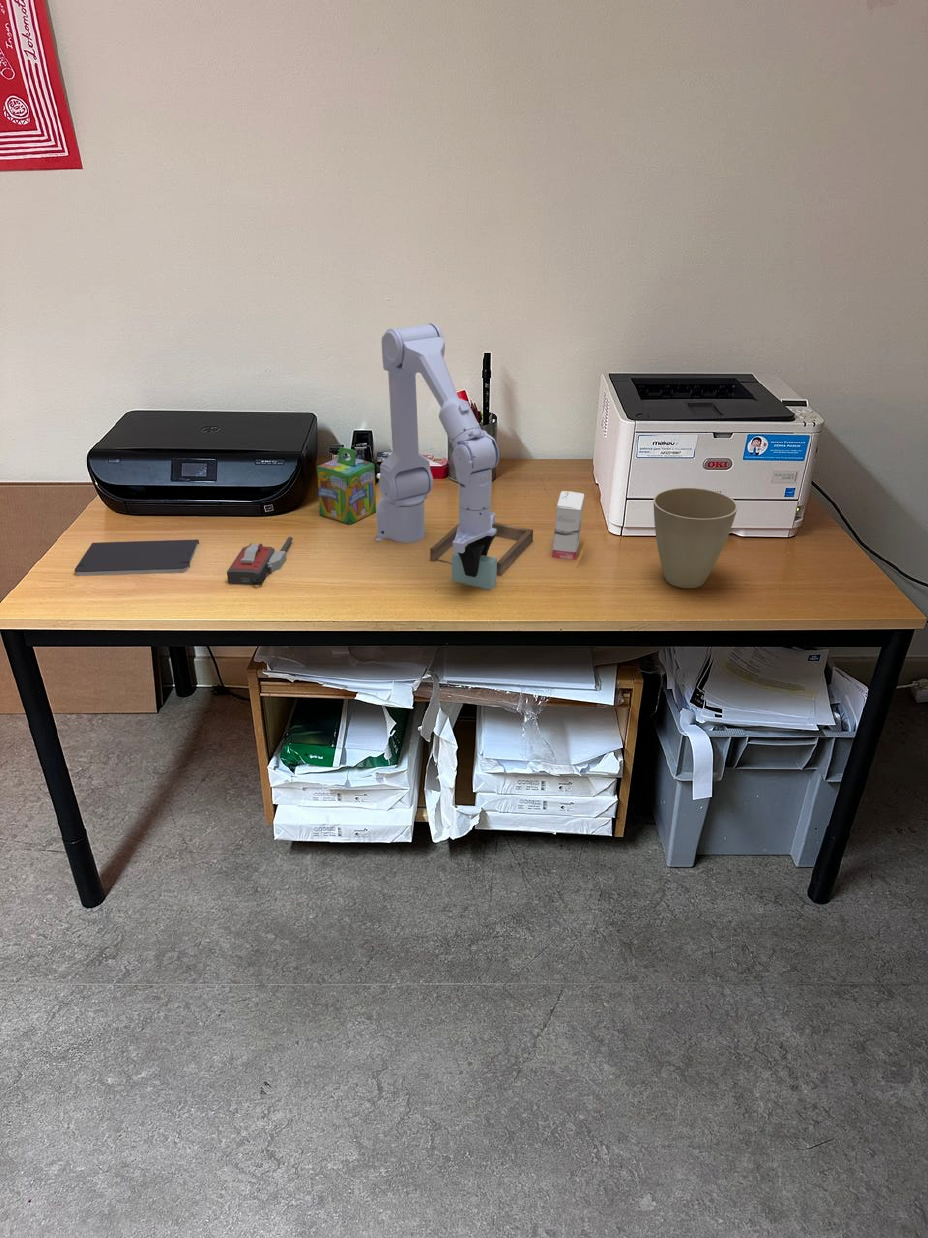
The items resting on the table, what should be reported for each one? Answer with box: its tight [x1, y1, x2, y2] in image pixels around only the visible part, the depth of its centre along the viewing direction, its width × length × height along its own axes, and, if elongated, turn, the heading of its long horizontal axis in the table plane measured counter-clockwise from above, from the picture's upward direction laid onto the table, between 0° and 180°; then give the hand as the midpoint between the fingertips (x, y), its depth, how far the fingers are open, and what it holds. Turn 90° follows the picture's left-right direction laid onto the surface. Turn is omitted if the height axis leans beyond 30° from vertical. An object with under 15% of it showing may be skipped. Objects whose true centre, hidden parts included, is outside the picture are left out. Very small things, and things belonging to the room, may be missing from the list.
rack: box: [429, 522, 534, 577], centre depth 172 cm, size 15×17×4 cm
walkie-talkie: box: [226, 536, 293, 586], centre depth 168 cm, size 9×4×20 cm
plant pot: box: [653, 486, 739, 589], centre depth 160 cm, size 15×15×16 cm
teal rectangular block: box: [451, 552, 498, 591], centre depth 160 cm, size 8×2×6 cm, turn 65°
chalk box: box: [316, 446, 377, 526], centre depth 186 cm, size 9×9×15 cm
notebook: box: [73, 538, 200, 577], centre depth 171 cm, size 13×2×21 cm
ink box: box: [551, 490, 585, 560], centre depth 171 cm, size 9×5×12 cm, turn 168°
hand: (474, 572), depth 160 cm, fingers closed on teal rectangular block, 2 cm apart
